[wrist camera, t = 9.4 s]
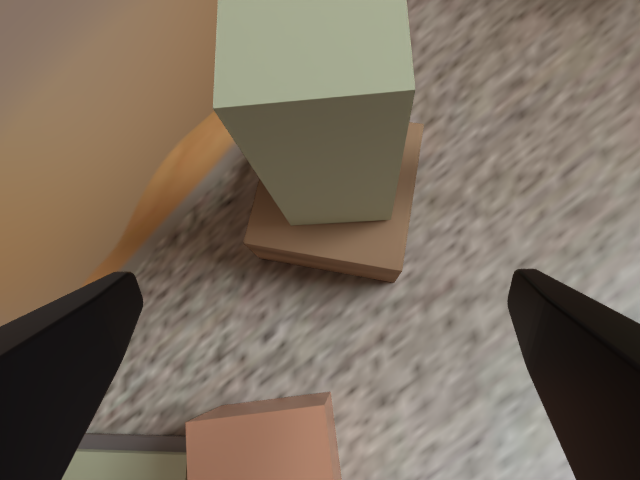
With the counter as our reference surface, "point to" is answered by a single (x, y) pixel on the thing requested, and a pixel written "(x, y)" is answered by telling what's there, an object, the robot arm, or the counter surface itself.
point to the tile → (129, 458)
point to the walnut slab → (340, 230)
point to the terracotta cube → (265, 441)
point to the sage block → (318, 101)
